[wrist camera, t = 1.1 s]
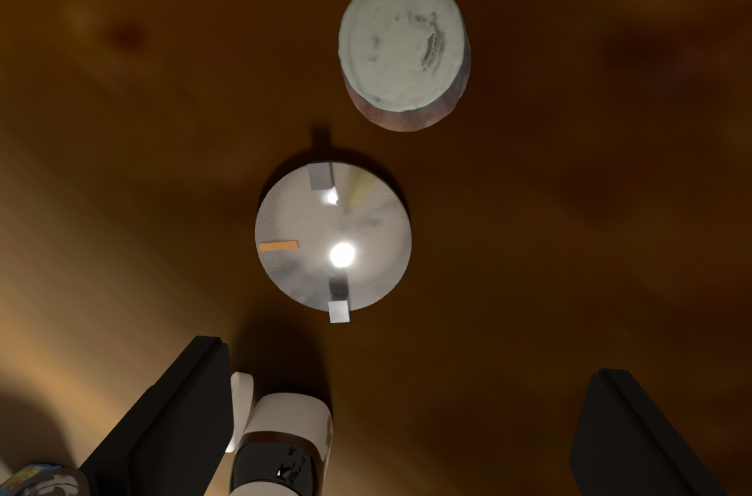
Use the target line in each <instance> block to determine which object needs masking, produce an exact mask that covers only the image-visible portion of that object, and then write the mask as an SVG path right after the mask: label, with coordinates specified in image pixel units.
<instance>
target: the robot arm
mask: <svg viewBox="0 0 752 496" xmlns="http://www.w3.org/2000/svg"><path fill="white" fill-rule="evenodd" d="M233 432H234V414H233V401H232V389H231V376H230V363H229V350H228V345H227V344H226V343H222V340H221V338H219V337H211V336H196V337H195V338H194V339H193V340H192V341H191V342H190V344H189V345H188V346H187V347H186V348H185V349H184V351H183V352H182V353H181V354H180V355H179V356H178V358H177V359H176V360H175V361H174V362H173V363H172V365H171V366H170V367H169V368H168V369H167V370H166V372H165V373H164V374H163V375H162V376H161V377H160V379H159V380H158V381H157V382H156V383H155V384H154V385H152V386H151V387H150V388H149V389H147V390H146V392H145V393H144V394H143V395H142V396H141V397H140V398H139V400H138V401H137V402H136V403H135V404H134V405H133V407H132V408H131V409H130V410H129V411H128V412H127V413H126V415H125V416H124V417H123V418H122V419H121V420H120V422H119V423H118V424H117V425H116V426H115V427H114V428H113V430H112V431H111V432H110V433H109V434H108V435H107V437H106V438H105V439H104V440H103V441H102V442H101V443H100V445H99V446H98V447H97V448H96V449H95V450H94V452H93V453H92V454H91V455H90V456H89V457H88V458H87V460H86V461H85V462H84V463H83V464H82V465H81V467H80V468H79V469H78V470H76V469H71V468H60V469H53V470H49V471H46V472H42V473H39V474H37V475H35V476H33V477H31V478H29V479H26V480H25V481H23V482H22V483H20V484H19V485H17V486H16V487H14V488H12V489H11V490H10V491H9V492H8V493H7V494H6V495H5V496H204V494H205V492H206V490H207V488H208V486H209V484H210V482H211V480H212V478H213V476H214V474H215V472H216V470H217V468H218V466H219V464H220V462H221V460H222V458H223V456H224V454H225V452H226V449H227V447H228V445H229V443H230V441H231V439H232V436H233ZM569 463H570V468H571V471H572V474H573V476H574V478H575V480H576V483H577V485H578V487H579V489H580V492H581V494H582V496H729V495H728V494H727V492H726V491H725V490H724V489H723V487H722V486H721V485H720V484H719V482H718V481H717V480H716V479H715V478H714V476H713V475H712V474H711V473H710V471H709V470H708V469H707V468H706V466H705V465H704V464H703V463H702V461H701V460H700V459H699V458H698V457H697V455H696V454H695V453H694V452H693V450H692V449H691V448H690V447H689V445H688V444H687V443H686V442H685V440H684V439H683V438H682V437H681V435H680V434H679V433H678V432H677V431H676V429H675V428H674V427H673V426H672V424H671V423H670V422H669V421H668V419H667V418H666V417H665V416H664V414H663V413H662V412H661V411H660V410H659V408H658V407H657V406H656V405H655V403H654V402H653V401H652V400H651V398H650V397H649V396H648V395H647V393H646V392H645V391H644V390H643V388H642V387H641V386H640V385H639V384H638V382H637V381H636V380H635V379H634V377H633V376H632V375H631V374H630V373H629V372H628V371H627V370H620V369H608V368H602V369H600V370H599V371H598V373H594V374H593V375H592V376H591V378H590V382H589V385H588V389H587V393H586V396H585V400H584V404H583V407H582V411H581V415H580V418H579V422H578V426H577V429H576V433H575V437H574V440H573V444H572V448H571V451H570V456H569Z"/></svg>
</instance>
